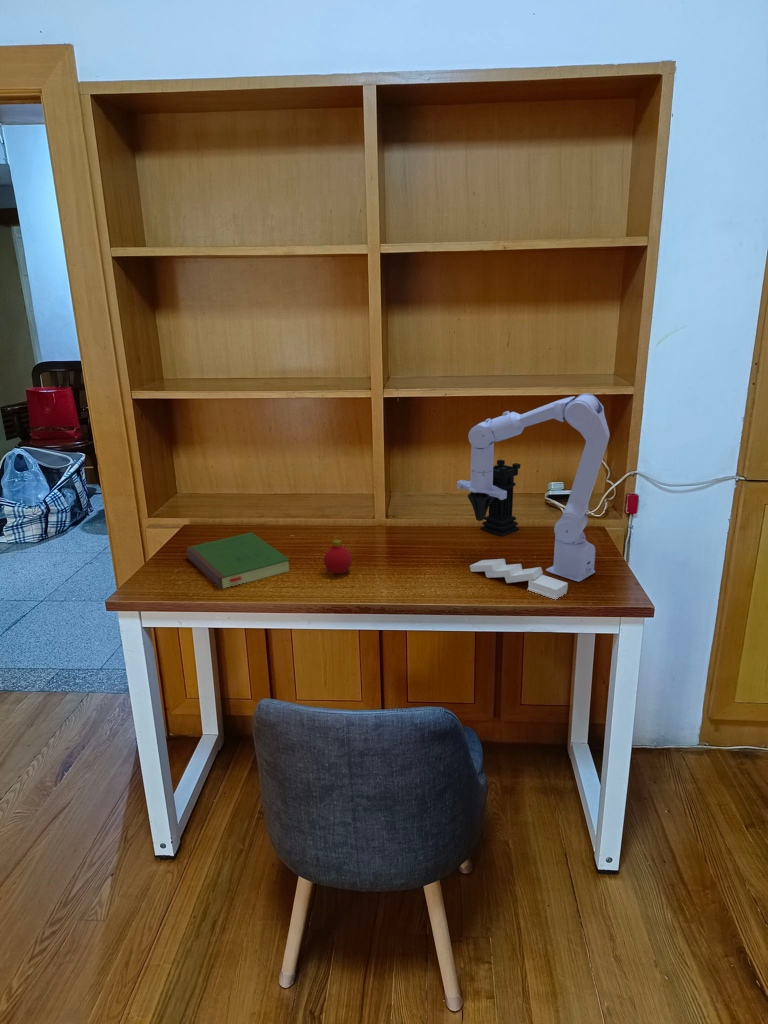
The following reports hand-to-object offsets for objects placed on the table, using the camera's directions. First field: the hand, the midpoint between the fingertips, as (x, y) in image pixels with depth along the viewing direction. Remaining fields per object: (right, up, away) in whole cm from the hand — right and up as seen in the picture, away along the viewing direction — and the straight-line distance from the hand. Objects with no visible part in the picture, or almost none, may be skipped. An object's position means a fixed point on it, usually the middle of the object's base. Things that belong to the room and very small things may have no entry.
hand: (480, 519), depth 178 cm
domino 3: (+6, -14, -11) cm, 19 cm away
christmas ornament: (-37, -14, -4) cm, 40 cm away
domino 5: (+10, -16, -15) cm, 24 cm away
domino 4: (+11, -14, -15) cm, 23 cm away
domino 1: (-2, -12, -4) cm, 13 cm away
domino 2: (+2, -13, -7) cm, 15 cm away
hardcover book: (-64, -13, +2) cm, 65 cm away
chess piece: (+9, -3, +22) cm, 24 cm away
